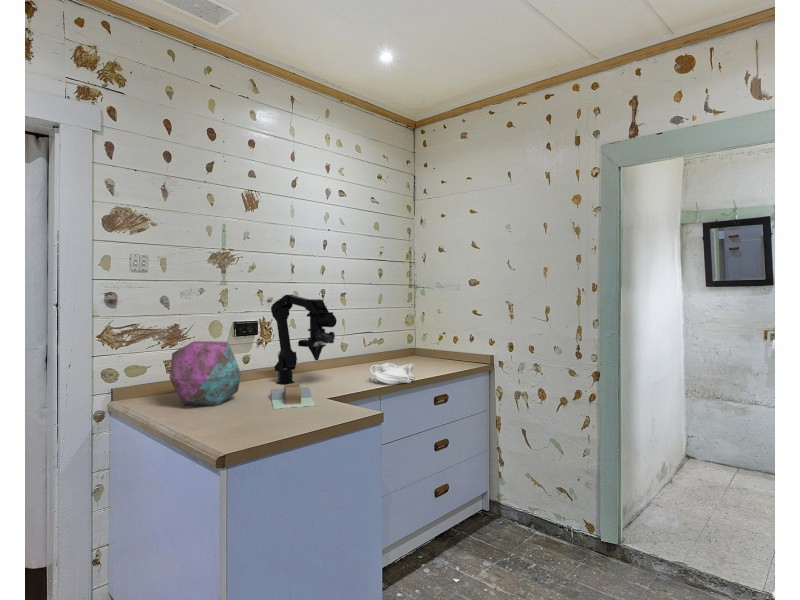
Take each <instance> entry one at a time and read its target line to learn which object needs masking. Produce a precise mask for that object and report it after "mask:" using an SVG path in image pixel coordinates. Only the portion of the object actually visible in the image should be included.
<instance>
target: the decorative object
mask: <svg viewBox="0 0 800 600" xmlns="http://www.w3.org/2000/svg"><path fill="white" fill-rule="evenodd" d="M241 376H242V372H241V369H240V367H239V365H238V362H237V360H236V358H235V355H234V352H233V350H232V348H231V344H230V343H229V341H212V340H211V341H209V340H208V341H205V340H204V341H202V340H201V341H198V340H194V341H192V342H190V343H188V344H186V345H185V346H184V345H183V346H182V347H181V348H179V349H177V350H175V351H173V352H172V354H171V364H170V372H169V380H170V382H171V384H172V386H173V388H174V389H175V390H174V391H175V392H176V394H177V396H178V398H179V400H180V402H181V404H182V405H183V404H190V405H189V406H208V405H216V406H217V405H219V406H220V405H221V404H223V403H224V402H225V401H227V400H228V399H230V398H231V397H232V396H234V395H235V394H236V393H238V392H239V387H240V381H241ZM216 406H215V407H216ZM217 407H218V406H217Z"/></svg>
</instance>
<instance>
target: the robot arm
mask: <svg viewBox="0 0 800 600" xmlns="http://www.w3.org/2000/svg"><path fill="white" fill-rule="evenodd" d="M293 305H295V306H299V307H301V308H302V307H303V309H305V310H307V311H308V313H307V314H306V317H308V318H309V328H308V329H307V331H308V332H309V337H308V338H307V339H299V340H298V342H297V344H298V345H297V346H298V347H306V348H308V350H309V351H310V353H311V354H312V357H313V358H314V359H313V360H315V361H319V358H320V357H321V352H322V350H323V348H324V347H326V346H327V344H334V343H335V341H334V340H336V339H335V337H336V335H335V332H334V331H329V332H326V329H325V328H334V327H335V326H336V325H337V318H336V316H335V315H334V312H332V311H331V312H330V311H329V309H328V308H327V307H326V304H325V302H324V300H323V299H321V298H320V299H318V298H317V299H315V298H313V299H312V298H310V299H309V298H305V297H301V296H297V295H294V294H285V295H283V296H282V298H280V299H278V300H276V301H275V302H274V303H273V304H272V306H271V307H270V311H271V315H272V318H274V319H275V322H276V326H277V333H278V334H277V335H278V341H279V347H280V352H279V353H278V356H277V358H278V361H277V362H276V364H275V365H274V371H275V372H277V381H276V382H275V384H279V385H290V384H293V383H295V381H294V380H293V370H294V371H295V369H296V366H297V363H298V362H297V361H298V357H297V351H293V349H292V347H291V346H292V345H291V338H290V332H289V325H288V319H289V316H290V310H291V309H292V308H293Z"/></svg>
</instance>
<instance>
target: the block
mask: <svg viewBox="0 0 800 600" xmlns="http://www.w3.org/2000/svg"><path fill="white" fill-rule="evenodd" d="M301 387H302V386H300V383H299V384H283V388H284V401H285V404H286V405H289V404H301Z"/></svg>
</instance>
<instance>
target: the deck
mask: <svg viewBox="0 0 800 600" xmlns="http://www.w3.org/2000/svg"><path fill="white" fill-rule="evenodd" d="M300 387H301V398H309V397H311V398H312V390H311V388H310V387H309V386H300ZM270 399H272V400H280V399H284V387H283V388H271V389H270ZM272 400H271V401H272Z"/></svg>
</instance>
